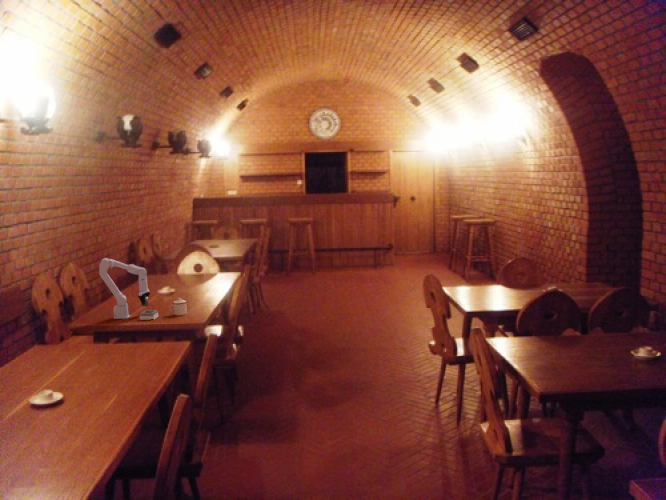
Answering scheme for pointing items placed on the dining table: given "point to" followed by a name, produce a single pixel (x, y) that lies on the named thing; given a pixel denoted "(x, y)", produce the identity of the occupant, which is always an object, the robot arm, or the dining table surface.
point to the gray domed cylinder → (146, 302)
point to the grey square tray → (148, 315)
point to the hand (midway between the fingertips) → (144, 303)
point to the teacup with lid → (179, 307)
